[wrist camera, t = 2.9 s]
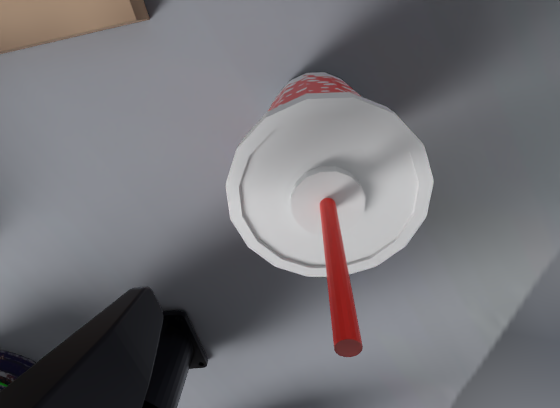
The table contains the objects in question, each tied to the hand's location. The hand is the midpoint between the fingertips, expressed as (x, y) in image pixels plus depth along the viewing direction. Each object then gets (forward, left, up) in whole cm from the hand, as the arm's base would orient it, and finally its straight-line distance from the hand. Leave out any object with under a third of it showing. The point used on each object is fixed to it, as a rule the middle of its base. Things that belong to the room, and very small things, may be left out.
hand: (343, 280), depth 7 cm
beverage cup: (0, 0, -12) cm, 12 cm away
